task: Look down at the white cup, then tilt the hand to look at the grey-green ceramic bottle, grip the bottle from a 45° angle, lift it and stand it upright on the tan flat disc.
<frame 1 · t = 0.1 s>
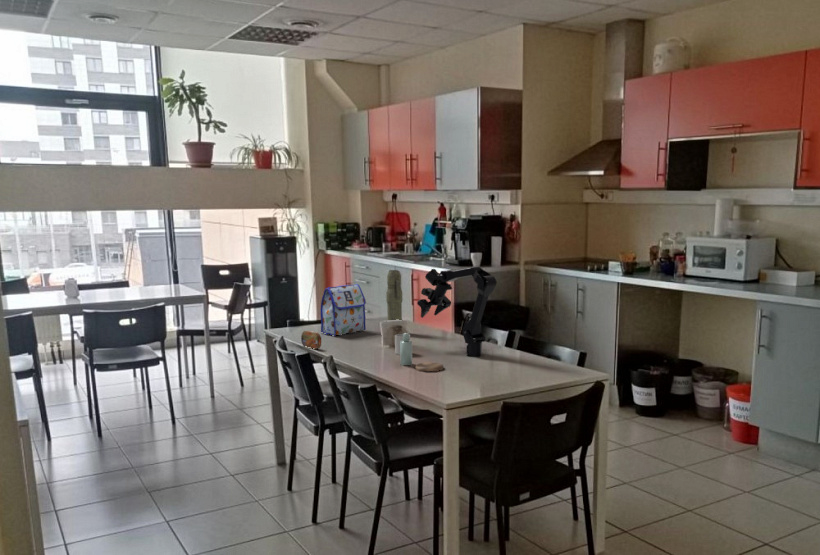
hand: (428, 316, 327), 15 cm above the table, tool tilted 35°, fingers open, 9 cm apart
tin: (311, 348, 325), on the table
lunch bag: (343, 333, 363), on the table
ceramic bottle: (406, 364, 289), on the table
thermos: (394, 333, 361), on the table
cup: (401, 353, 312), on the table
tan flat disc: (429, 368, 281), on the table
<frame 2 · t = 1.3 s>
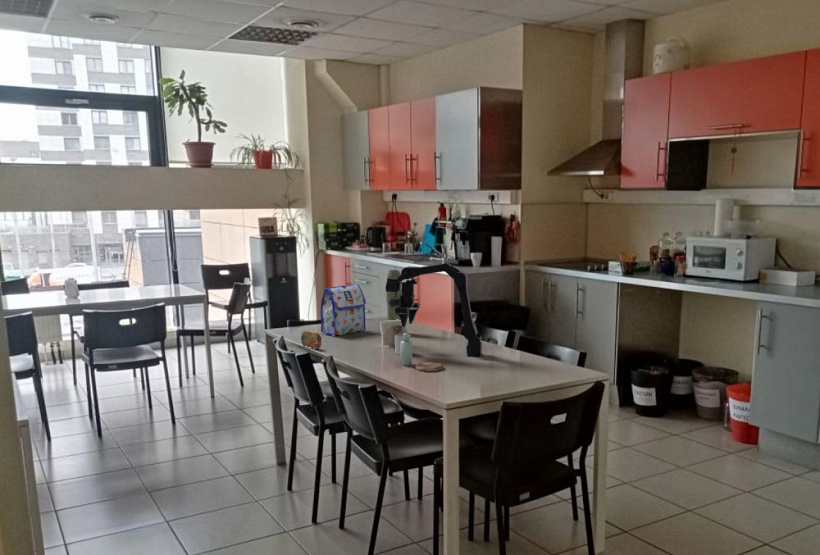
hand: (407, 325, 310), 13 cm above the table, tool pointing down, fingers open, 9 cm apart
nothing on the table moved.
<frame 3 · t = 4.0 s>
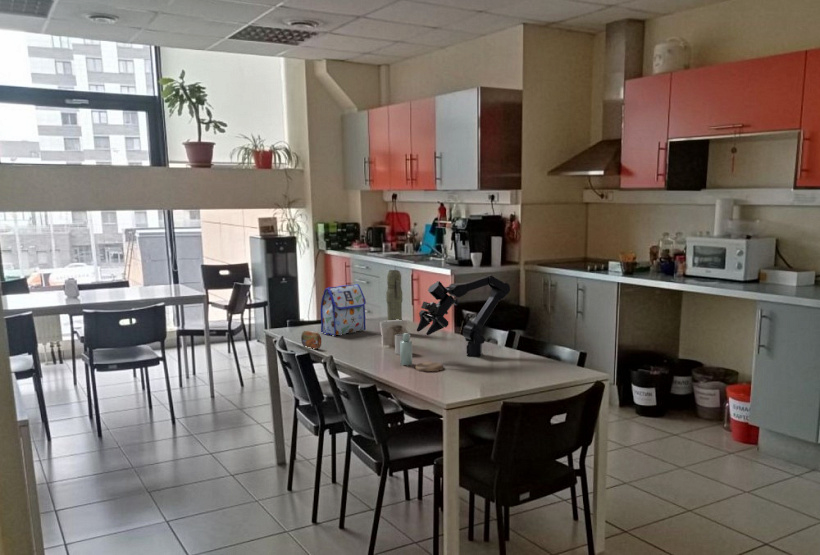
hand: (422, 332, 291), 13 cm above the table, tool tilted 45°, fingers open, 9 cm apart
nothing on the table moved.
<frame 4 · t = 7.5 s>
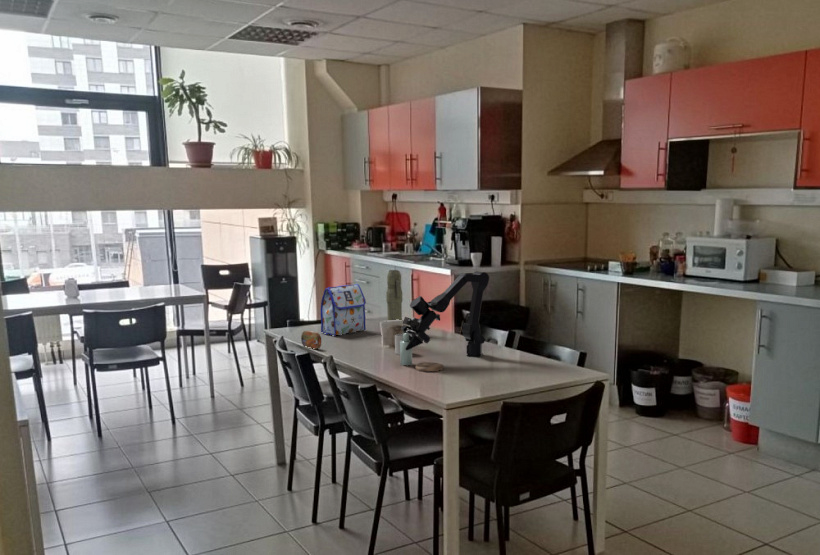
hand: (403, 348, 288), 7 cm above the table, tool tilted 45°, fingers closed on ceramic bottle, 5 cm apart
ceramic bottle: (406, 364, 289), on the table, touching gripper
everything else where it was.
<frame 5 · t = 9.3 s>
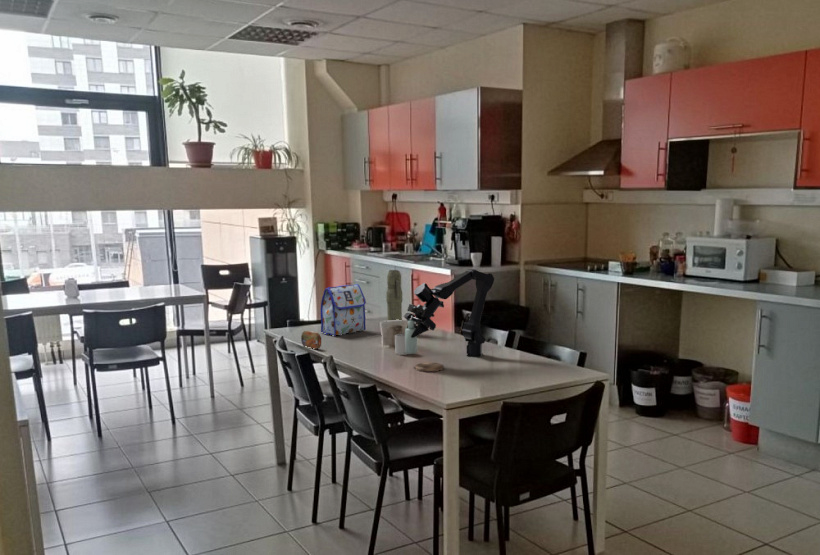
hand: (408, 336, 285), 13 cm above the table, tool tilted 45°, fingers closed on ceramic bottle, 5 cm apart
ceramic bottle: (411, 352, 286), point 6 cm above the table, touching gripper
everything else where it was.
when the fingers open (9 cm above the table, at t = 11.5 s): ceramic bottle stays where it is, resting on tan flat disc.
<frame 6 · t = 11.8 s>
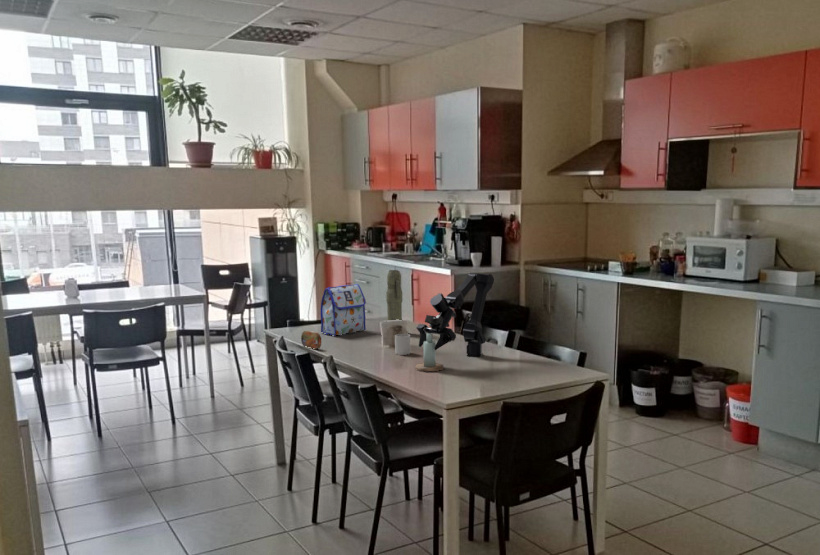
hand: (427, 347, 279), 9 cm above the table, tool tilted 45°, fingers open, 9 cm apart
ceramic bottle: (429, 365, 281), point 1 cm above the table, touching tan flat disc
everything else where it was.
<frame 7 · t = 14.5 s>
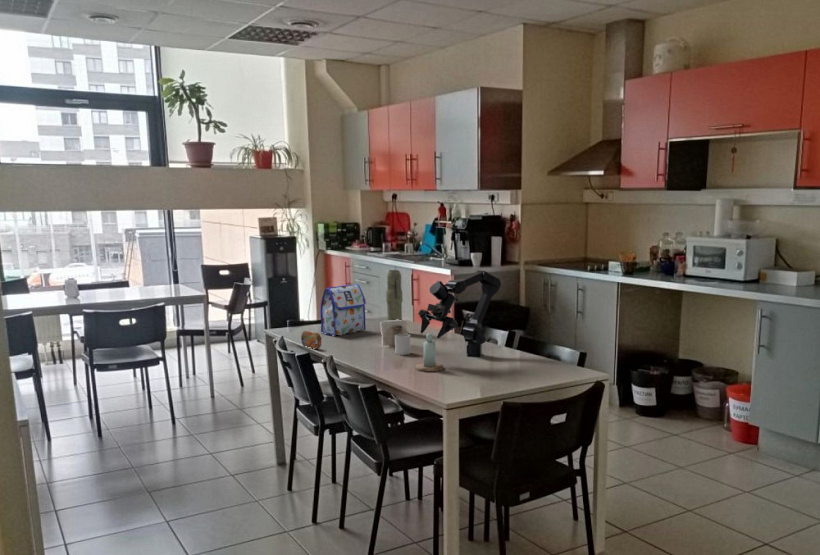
hand: (429, 335, 285), 13 cm above the table, tool tilted 40°, fingers open, 9 cm apart
nothing on the table moved.
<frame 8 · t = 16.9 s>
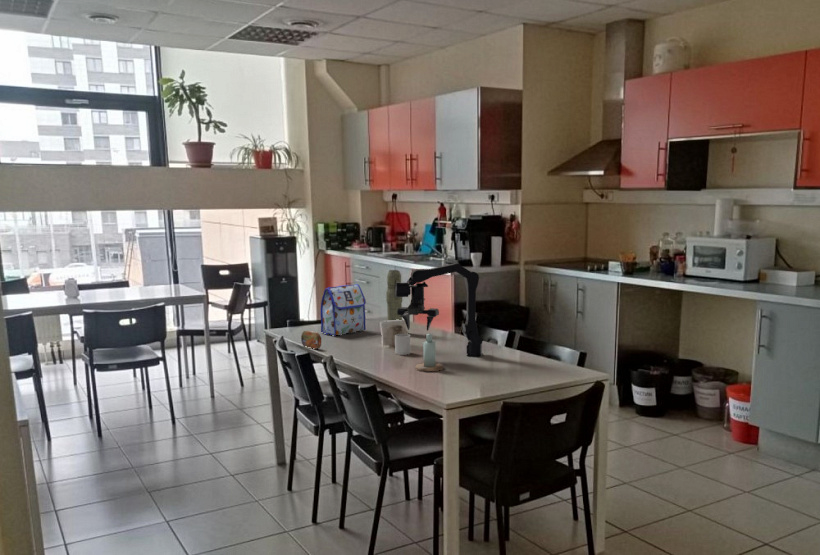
hand: (418, 330, 300), 13 cm above the table, tool pointing down, fingers open, 9 cm apart
nothing on the table moved.
at the end: ceramic bottle inside the target area on the tan flat disc (0.1 cm from its centre), point 1.2 cm above the tan flat disc's base; ceramic bottle tilted 0°; the gripper is holding nothing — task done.
